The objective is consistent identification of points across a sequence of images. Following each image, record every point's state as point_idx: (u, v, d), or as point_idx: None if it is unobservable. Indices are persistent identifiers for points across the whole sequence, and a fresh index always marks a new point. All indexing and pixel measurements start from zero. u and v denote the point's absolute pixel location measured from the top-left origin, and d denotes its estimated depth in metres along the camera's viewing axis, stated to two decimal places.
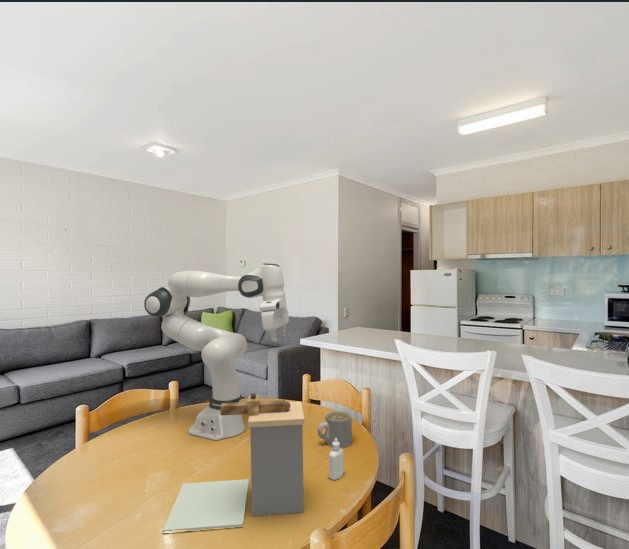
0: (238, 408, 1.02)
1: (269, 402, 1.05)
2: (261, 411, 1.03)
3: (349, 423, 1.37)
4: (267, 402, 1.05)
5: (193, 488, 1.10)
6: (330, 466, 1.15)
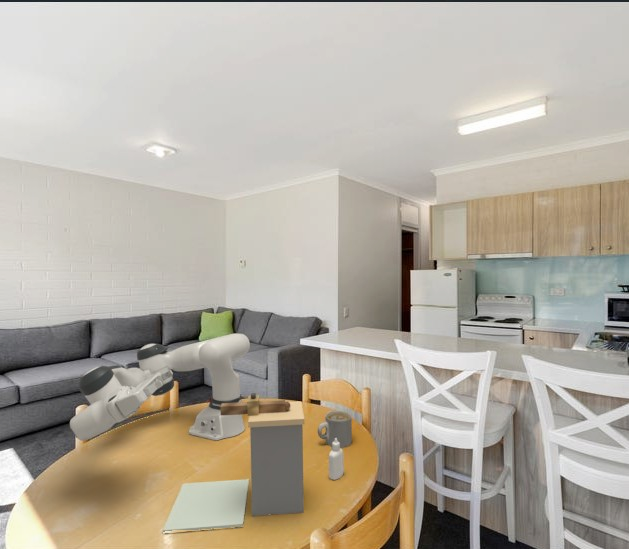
0: (238, 408, 1.02)
1: (269, 402, 1.05)
2: (261, 411, 1.03)
3: (349, 423, 1.37)
4: (267, 402, 1.05)
5: (193, 488, 1.10)
6: (330, 466, 1.15)
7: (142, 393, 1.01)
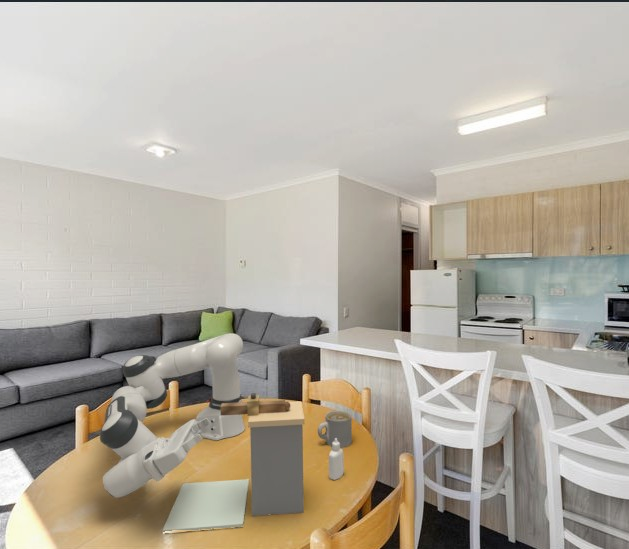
0: (238, 408, 1.02)
1: (269, 402, 1.05)
2: (261, 411, 1.03)
3: (349, 423, 1.37)
4: (267, 402, 1.05)
5: (193, 488, 1.10)
6: (330, 466, 1.15)
7: (181, 449, 0.94)
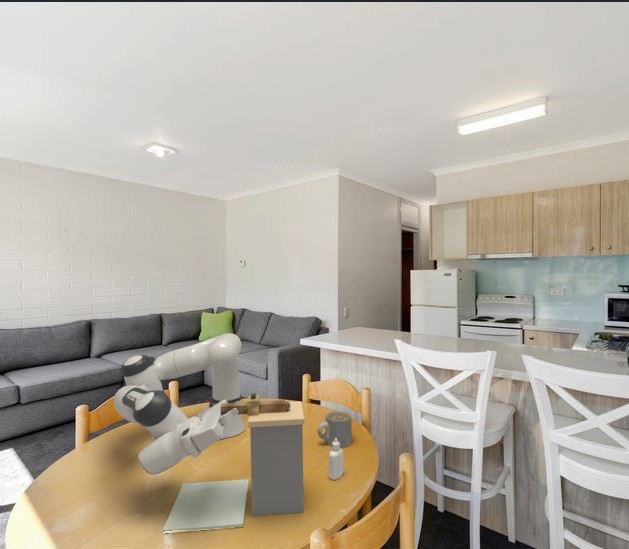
0: (238, 408, 1.02)
1: (269, 402, 1.05)
2: (261, 411, 1.03)
3: (349, 423, 1.37)
4: (267, 402, 1.05)
5: (193, 488, 1.10)
6: (330, 466, 1.15)
7: (218, 426, 0.95)
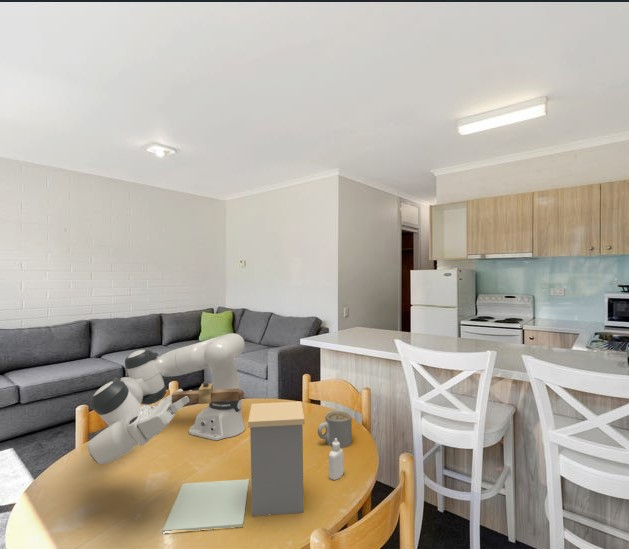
0: (190, 396, 1.01)
1: (222, 390, 1.03)
2: (213, 399, 1.02)
3: (349, 423, 1.37)
4: (220, 390, 1.03)
5: (193, 488, 1.10)
6: (330, 466, 1.15)
7: (166, 414, 0.94)
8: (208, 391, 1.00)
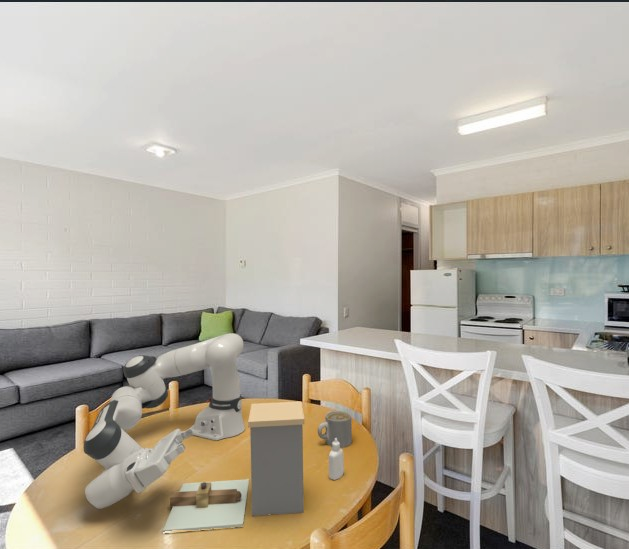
0: (188, 499, 1.02)
1: (220, 492, 1.04)
2: (211, 502, 1.02)
3: (349, 423, 1.37)
4: (218, 492, 1.04)
5: (193, 488, 1.10)
6: (330, 466, 1.15)
7: (163, 461, 0.94)
8: (205, 495, 1.01)
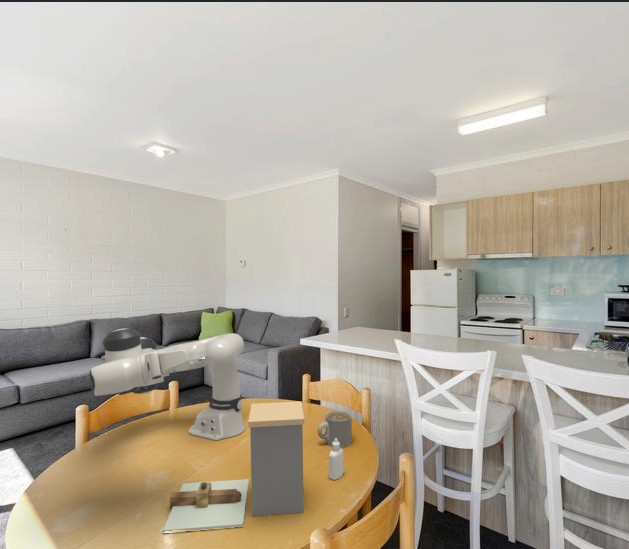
0: (188, 499, 1.02)
1: (220, 492, 1.04)
2: (211, 502, 1.02)
3: (349, 423, 1.37)
4: (218, 492, 1.04)
5: (193, 488, 1.10)
6: (330, 466, 1.15)
7: None
8: (205, 495, 1.01)
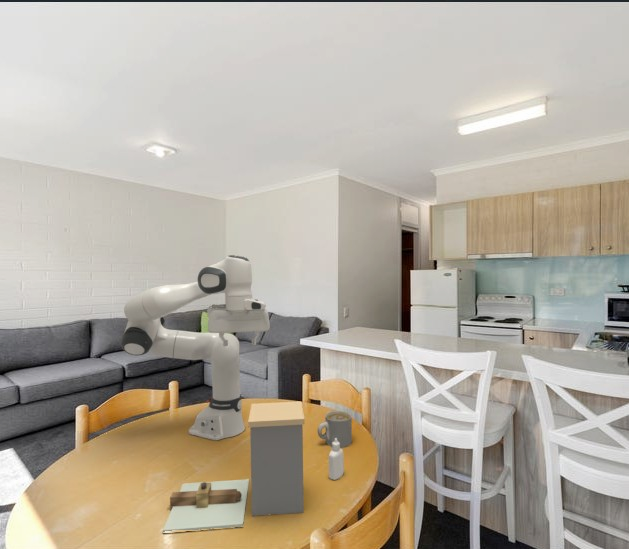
0: (188, 499, 1.02)
1: (220, 492, 1.04)
2: (211, 502, 1.02)
3: (349, 423, 1.37)
4: (218, 492, 1.04)
5: (193, 488, 1.10)
6: (330, 466, 1.15)
7: None
8: (205, 495, 1.01)
